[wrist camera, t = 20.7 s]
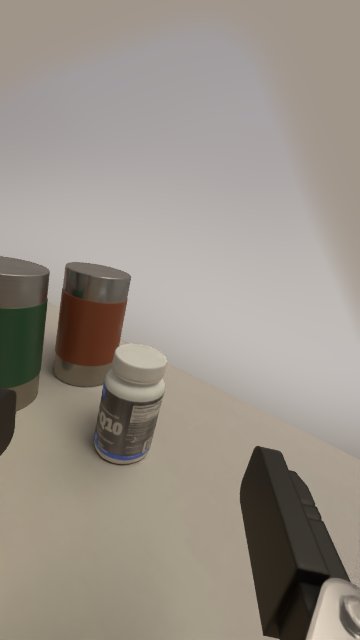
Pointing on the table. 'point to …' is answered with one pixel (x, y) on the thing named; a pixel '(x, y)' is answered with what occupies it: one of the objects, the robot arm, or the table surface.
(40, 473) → the table surface
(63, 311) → the can rust
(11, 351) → the can green
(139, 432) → the pill bottle
